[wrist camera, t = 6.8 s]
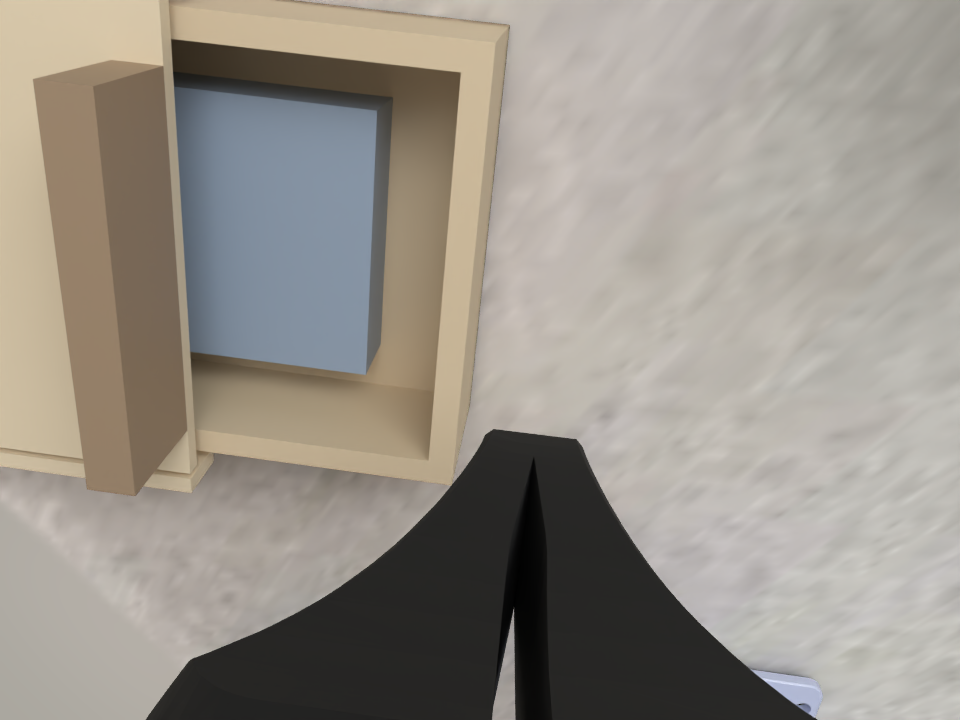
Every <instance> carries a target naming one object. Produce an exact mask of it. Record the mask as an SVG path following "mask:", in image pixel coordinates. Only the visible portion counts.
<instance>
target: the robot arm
mask: <svg viewBox="0 0 960 720" xmlns="http://www.w3.org/2000/svg"><path fill="white" fill-rule="evenodd" d="M513 609H514V639H515V715H516V720H817V719H816V718H815V717H816V714H817V712H818V709H819V706H820V704H821V701H822V697H823V694H822V691H821V688H820V686H819V683H818V682H816V681H815V680H814V679H810V678H806V677H799V676H792V675H785V674H778V673H771V672H764V671H758V670H751V669H749V668H748V667H747V666H746V665H744V664H743V663H742V662H741V661H740V660H739V659H737V658H736V657H735V656H734V655H733V654H732V653H730V652H729V651H728V650H727V649H726V648H725V647H724V646H723V645H722V644H721V643H720V642H719V641H718V640H717V639H716V638H715V637H713V636H712V635H711V634H710V633H709V632H708V631H707V630H706V629H705V628H704V627H703V626H702V625H701V624H700V623H699V622H698V621H697V620H696V619H695V618H694V617H693V616H692V615H691V614H690V613H689V612H688V611H687V610H686V609H685V608H684V607H683V606H682V605H681V603H680V602H679V601H678V600H677V599H676V598H675V596H674V595H673V594H672V593H671V592H670V591H669V590H668V588H667V587H666V586H665V585H664V583H663V582H662V581H661V580H660V578H659V577H658V576H657V575H656V573H655V572H654V571H653V569H652V568H651V567H650V565H649V564H648V563H647V561H646V560H645V558H644V557H643V555H642V554H641V553H640V551H639V550H638V548H637V547H636V546H635V544H634V543H633V541H632V540H631V538H630V537H629V535H628V533H627V532H626V530H625V529H624V527H623V526H622V524H621V522H620V521H619V519H618V517H617V516H616V514H615V512H614V511H613V509H612V507H611V505H610V504H609V502H608V500H607V498H606V497H605V495H604V493H603V491H602V489H601V487H600V485H599V483H598V481H597V479H596V477H595V475H594V473H593V471H592V469H591V467H590V465H589V462H588V460H587V458H586V455H585V453H584V450H583V447H582V446H581V445H580V443H579V442H578V441H577V439H569V438H561V437H553V436H545V435H537V434H529V433H520V432H512V431H504V430H496V429H493V430H492V431H490V432H489V433H487V434H486V435H485V437H484V439H483V441H482V443H481V445H480V447H479V448H478V450H477V452H476V453H475V455H474V456H473V458H472V459H471V461H470V462H469V464H468V465H467V466H466V468H465V469H464V471H463V472H462V473H461V475H460V476H459V477H458V478H457V480H456V481H455V482H454V483H453V484H452V486H451V487H450V488H449V489H448V491H447V492H446V493H445V494H444V495H443V497H442V498H441V499H440V500H439V501H438V502H437V503H436V505H435V506H434V507H433V508H432V509H431V510H430V511H429V512H428V513H427V514H426V515H425V516H424V517H423V518H422V519H421V520H420V521H419V522H418V523H417V524H416V525H415V526H414V527H413V528H412V529H411V530H410V531H409V532H408V533H407V534H406V535H405V536H404V537H403V538H402V539H401V540H400V541H398V542H397V543H396V544H395V545H394V546H393V547H392V548H390V549H389V550H388V551H387V552H386V553H384V554H383V555H382V556H381V557H380V558H378V559H377V560H376V561H375V562H374V563H372V564H371V565H370V566H368V567H367V568H366V569H364V570H363V571H361V572H360V573H359V574H357V575H356V576H354V577H353V578H352V579H350V580H349V581H348V582H346V583H345V584H343V585H342V586H341V587H339V588H338V589H336V590H335V591H333V592H332V593H330V594H328V595H327V596H325V597H324V598H322V599H321V600H319V601H317V602H315V603H314V604H312V605H310V606H308V607H306V608H305V609H303V610H301V611H299V612H298V613H296V614H294V615H292V616H290V617H288V618H286V619H284V620H282V621H280V622H278V623H276V624H274V625H272V626H270V627H268V628H266V629H264V630H262V631H260V632H257V633H255V634H253V635H250V636H248V637H245V638H243V639H240V640H238V641H236V642H233V643H231V644H228V645H226V646H224V647H221V648H219V649H216V650H214V651H212V652H209V653H207V654H204V655H201V656H199V657H196V658H193V659H191V660H190V661H189V662H188V663H187V665H186V666H185V667H184V668H183V670H182V671H181V672H180V674H179V675H178V676H177V678H176V679H175V680H174V682H173V683H172V684H171V686H170V687H169V688H168V690H167V691H166V692H165V694H164V695H163V697H162V698H161V699H160V701H159V702H158V703H157V705H156V706H155V707H154V709H153V710H152V711H151V713H150V714H149V716H148V717H147V719H146V720H492V713H493V705H494V700H495V696H496V691H497V686H498V681H499V676H500V672H501V667H502V662H503V657H504V653H505V648H506V643H507V638H508V633H509V629H510V624H511V619H512V614H513ZM800 703H805V704H803V705H798V704H800Z"/></svg>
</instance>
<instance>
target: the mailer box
mask: <svg viewBox="0 0 960 720" xmlns="http://www.w3.org/2000/svg"><path fill="white" fill-rule="evenodd" d="M169 16H170V33H171V49H172V65H173V82H174V98H175V114H176V130H177V147H178V163H179V179H180V195H181V212H182V228H183V244H184V261H185V277H186V293H187V309H188V326H189V342H190V358H191V375H192V391H193V407H194V423H195V440H196V450H198V451H205V452H213V453H220V454H227V455H234V456H242V457H249V458H256V459H263V460H270V461H278V462H285V463H292V464H299V465H307V466H314V467H321V468H328V469H336V470H343V471H350V472H357V473H365V474H372V475H379V476H386V477H394V478H401V479H408V480H415V481H423V482H430V483H437V484H444V485H451V486H452V482H453V477H454V473H455V468H456V464H457V459H458V455H459V450H460V446H461V441H462V437H463V433H464V428H465V424H466V419H467V415H468V410H469V406H470V398H471V388H472V379H473V369H474V360H475V350H476V341H477V331H478V322H479V312H480V303H481V293H482V284H483V274H484V265H485V255H486V246H487V237H488V227H489V218H490V208H491V199H492V189H493V180H494V170H495V161H496V151H497V142H498V132H499V123H500V113H501V104H502V94H503V85H504V75H505V66H506V56H507V47H508V37H509V28H510V25H506V24H497V23H488V22H479V21H470V20H461V19H453V18H444V17H435V16H426V15H417V14H408V13H400V12H391V11H382V10H373V9H364V8H355V7H347V6H338V5H329V4H320V3H311V2H302V1H294V0H169Z"/></svg>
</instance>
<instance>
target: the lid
mask: <svg viewBox="0 0 960 720" xmlns="http://www.w3.org/2000/svg"><path fill="white" fill-rule="evenodd" d="M213 462H214V455H213V452H205V451H198V450H196V440H195V423H194V407H193V391H192V375H191V358H190V342H189V326H188V309H187V293H186V277H185V261H184V244H183V228H182V212H181V195H180V179H179V163H178V147H177V130H176V114H175V98H174V82H173V65H172V49H171V33H170V16H169V0H0V466H2V467H9V468H16V469H24V470H31V471H38V472H45V473H52V474H59V475H66V476H73V477H81V478H86V485H87V489H88V490H95V491H102V492H109V493H116V494H124V495H131V496H136V494H137V493H138V492H139V491H140V489H141V488H142V487H143V486H145V487H152V488H159V489H166V490H173V491H180V492H187V493H192V492H193V490H194V489H195V487H196V486H197V485H198V483H199V482H200V480H201V479H202V477H203V476H204V475H205V473H206V472H207V470H208V469H209V467H210V466H211V465H212V463H213Z"/></svg>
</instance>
